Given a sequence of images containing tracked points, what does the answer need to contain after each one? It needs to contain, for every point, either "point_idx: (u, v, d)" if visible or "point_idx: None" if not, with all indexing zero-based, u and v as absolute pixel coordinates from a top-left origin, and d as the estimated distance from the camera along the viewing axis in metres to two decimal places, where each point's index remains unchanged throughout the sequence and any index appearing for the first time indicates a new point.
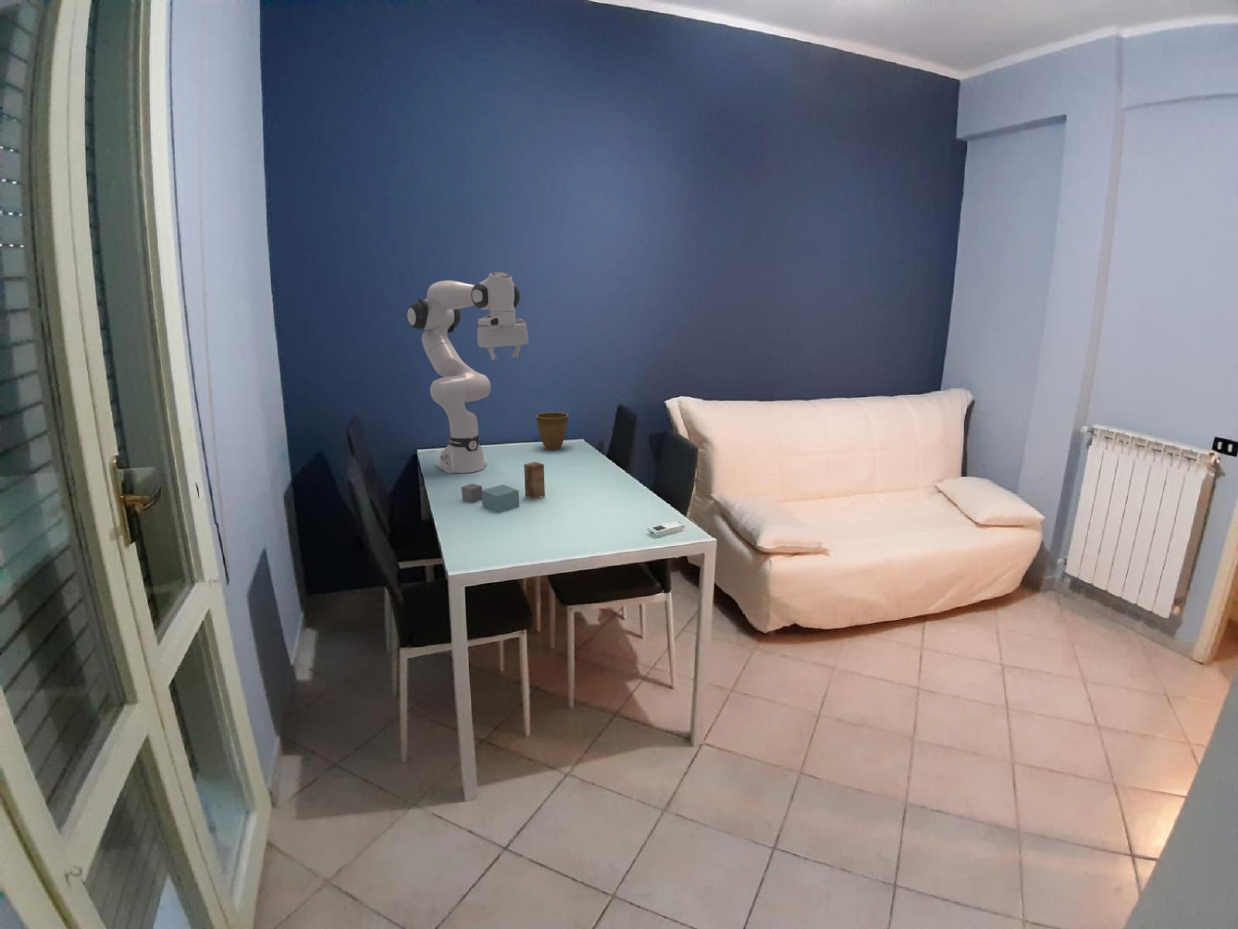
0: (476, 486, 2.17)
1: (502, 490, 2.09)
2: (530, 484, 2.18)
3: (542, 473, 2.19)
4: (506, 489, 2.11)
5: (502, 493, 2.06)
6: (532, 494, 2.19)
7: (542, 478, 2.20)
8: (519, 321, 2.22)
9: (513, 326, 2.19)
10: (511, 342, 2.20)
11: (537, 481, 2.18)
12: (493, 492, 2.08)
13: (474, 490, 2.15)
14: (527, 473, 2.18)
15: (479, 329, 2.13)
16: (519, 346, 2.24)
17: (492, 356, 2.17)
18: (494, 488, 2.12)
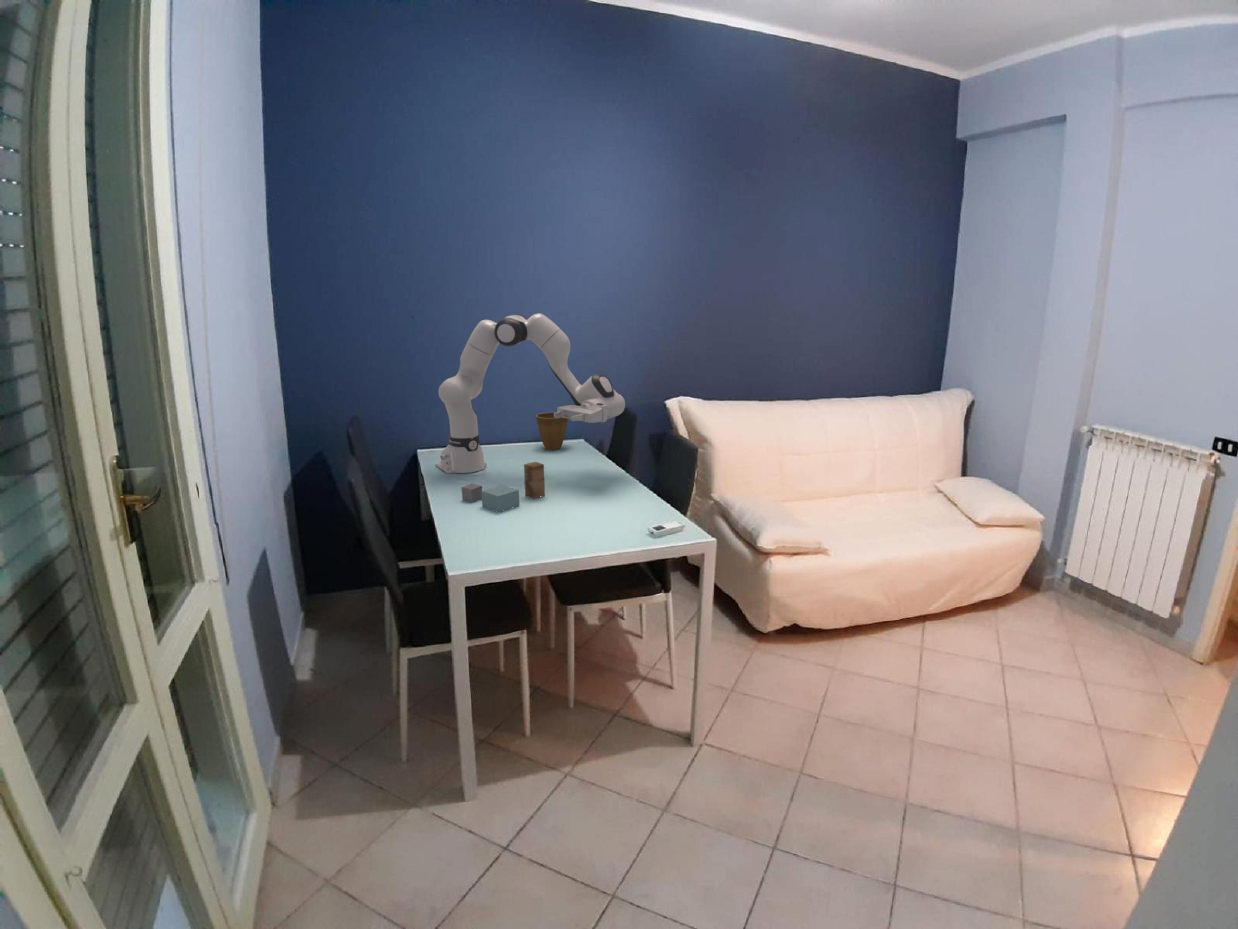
0: (476, 486, 2.17)
1: (502, 490, 2.09)
2: (530, 484, 2.18)
3: (542, 473, 2.19)
4: (505, 489, 2.11)
5: (503, 493, 2.06)
6: (532, 494, 2.19)
7: (542, 478, 2.20)
8: None
9: None
10: None
11: (537, 481, 2.18)
12: (494, 492, 2.08)
13: (474, 490, 2.15)
14: (527, 473, 2.18)
15: (601, 412, 2.25)
16: None
17: (575, 419, 2.22)
18: (493, 488, 2.12)
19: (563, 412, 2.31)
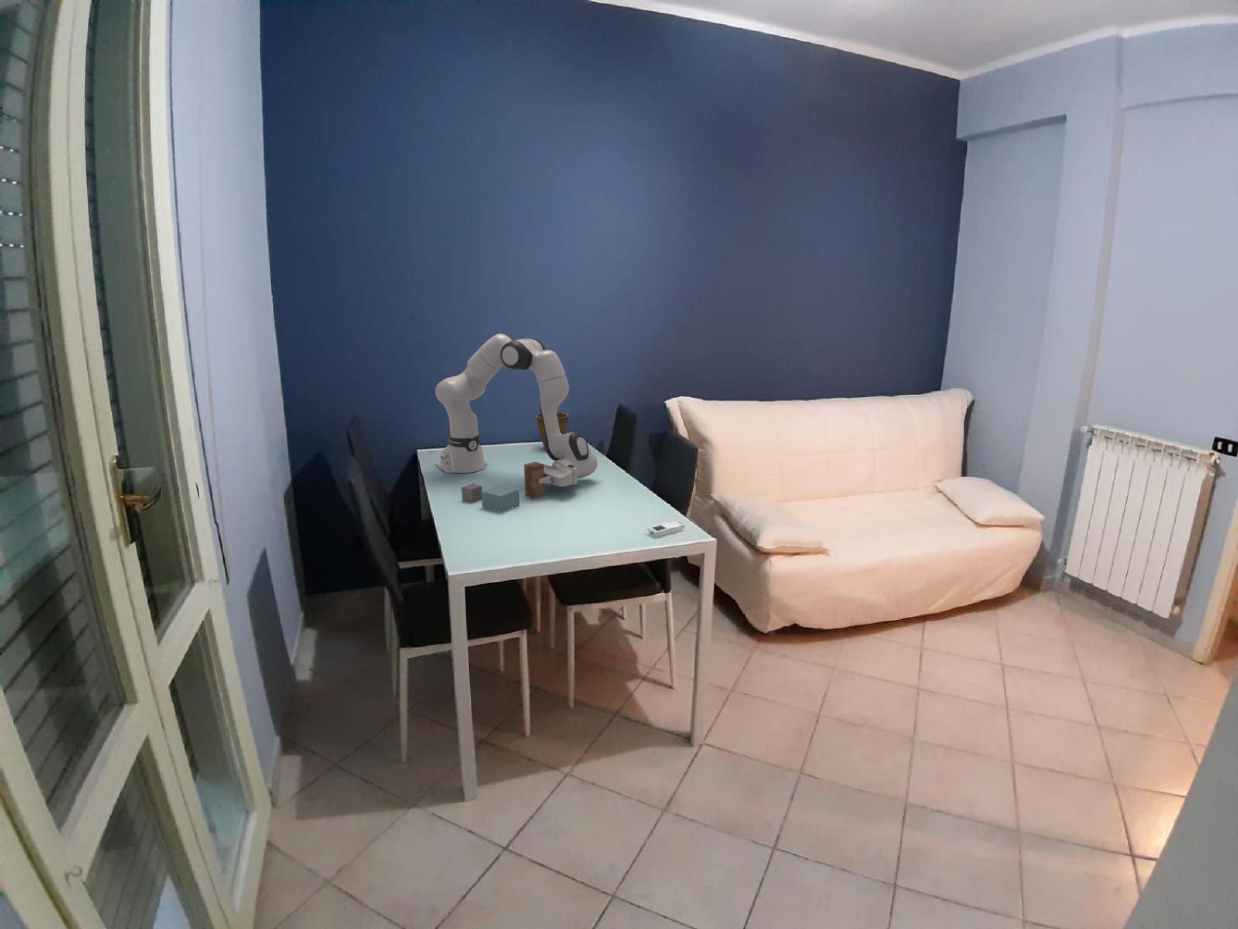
0: (476, 486, 2.17)
1: (502, 490, 2.10)
2: (530, 484, 2.18)
3: (542, 473, 2.19)
4: (505, 489, 2.11)
5: (505, 493, 2.07)
6: (532, 494, 2.19)
7: None
8: None
9: None
10: None
11: None
12: (494, 492, 2.08)
13: (474, 490, 2.15)
14: (527, 473, 2.18)
15: (572, 475, 2.20)
16: None
17: (542, 481, 2.18)
18: (493, 489, 2.11)
19: None
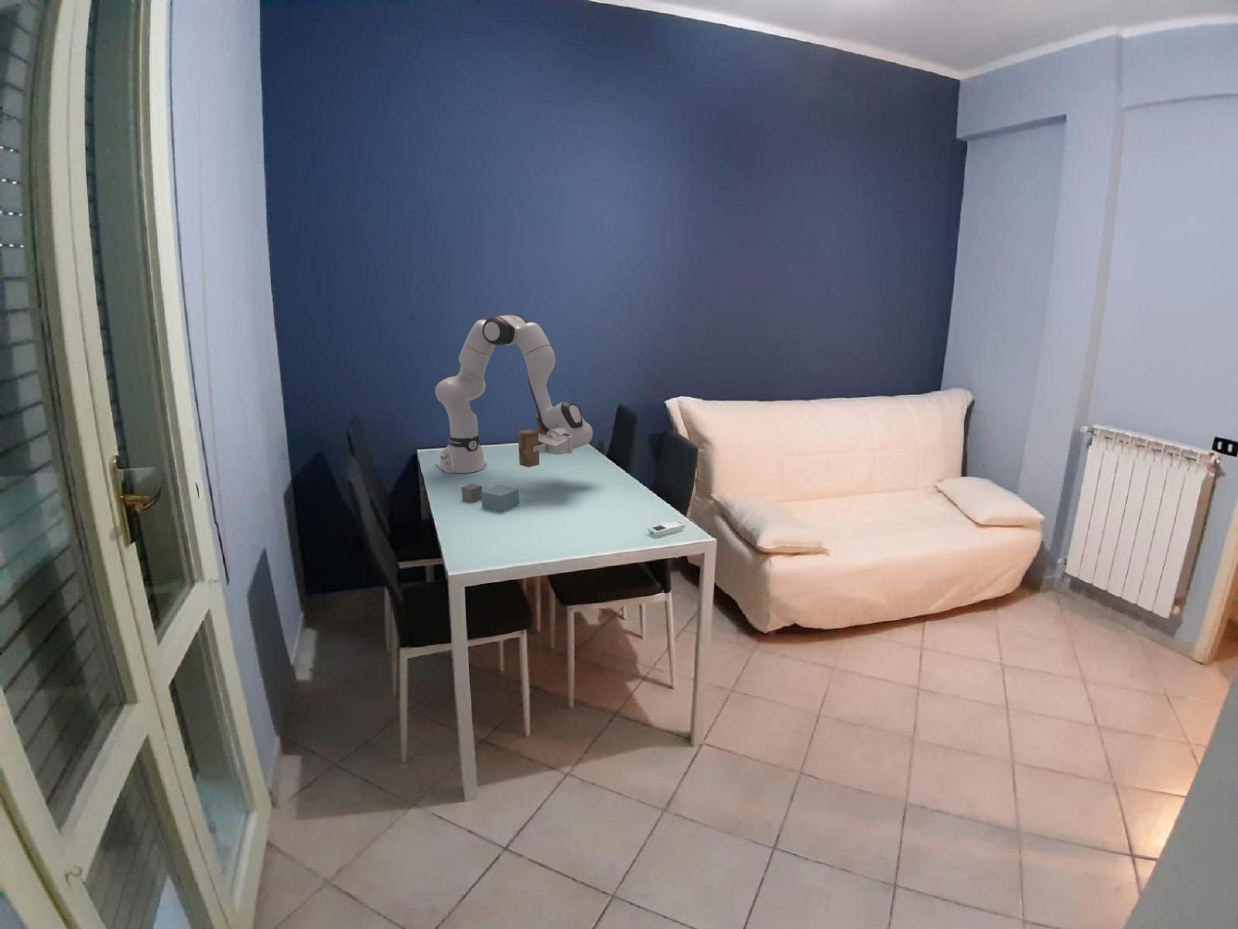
0: (476, 486, 2.17)
1: (502, 490, 2.10)
2: (524, 452, 2.14)
3: (536, 441, 2.14)
4: (505, 488, 2.11)
5: (505, 493, 2.07)
6: (526, 462, 2.14)
7: None
8: None
9: None
10: None
11: None
12: (495, 492, 2.08)
13: (474, 490, 2.15)
14: (521, 440, 2.13)
15: (567, 443, 2.16)
16: None
17: (536, 449, 2.13)
18: (492, 489, 2.11)
19: None
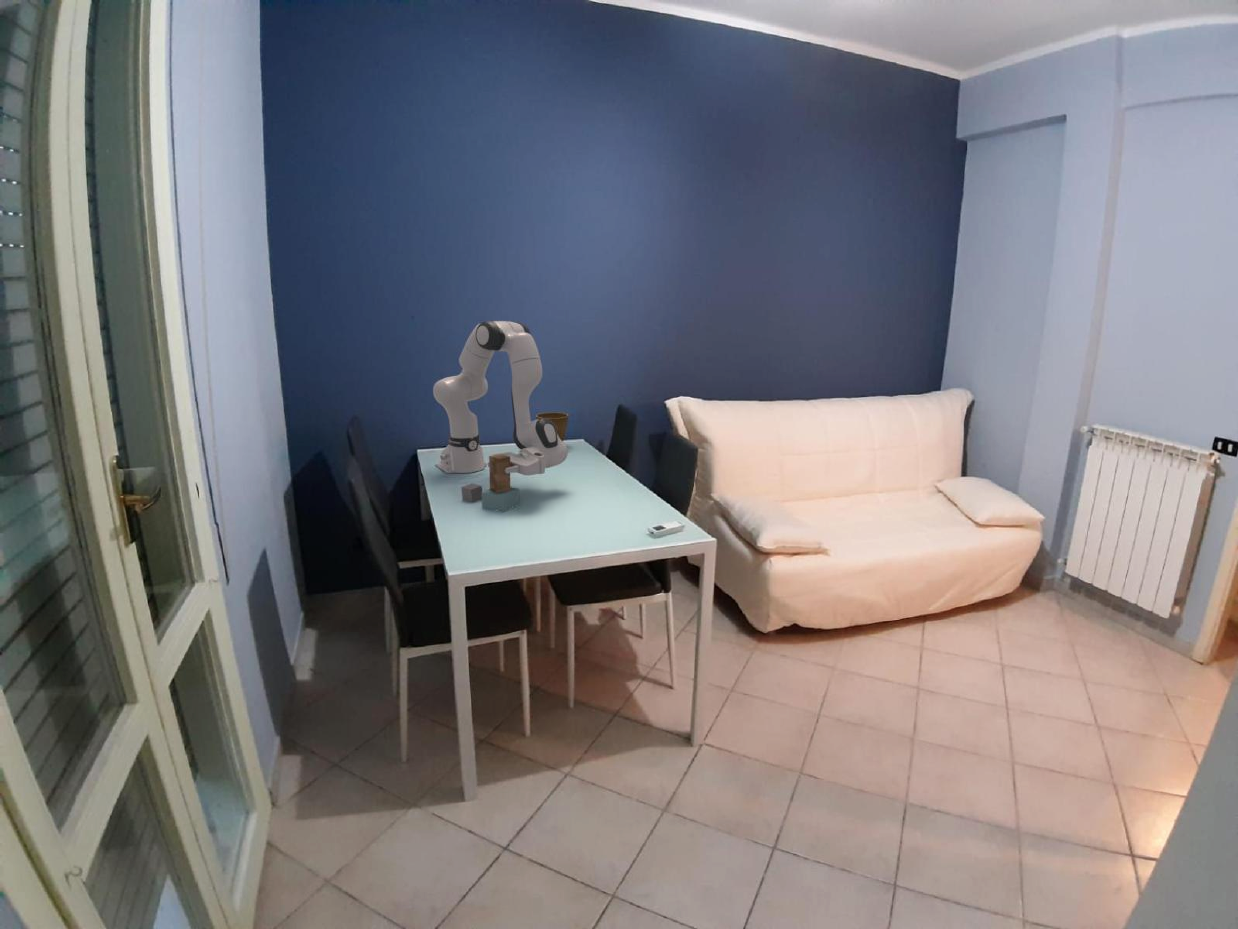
0: (476, 486, 2.17)
1: None
2: (495, 477, 2.06)
3: (508, 466, 2.07)
4: None
5: (506, 493, 2.07)
6: (496, 488, 2.07)
7: None
8: None
9: None
10: None
11: (502, 474, 2.06)
12: (495, 492, 2.08)
13: (474, 490, 2.15)
14: (492, 465, 2.06)
15: (538, 463, 2.08)
16: None
17: (509, 471, 2.04)
18: None
19: None
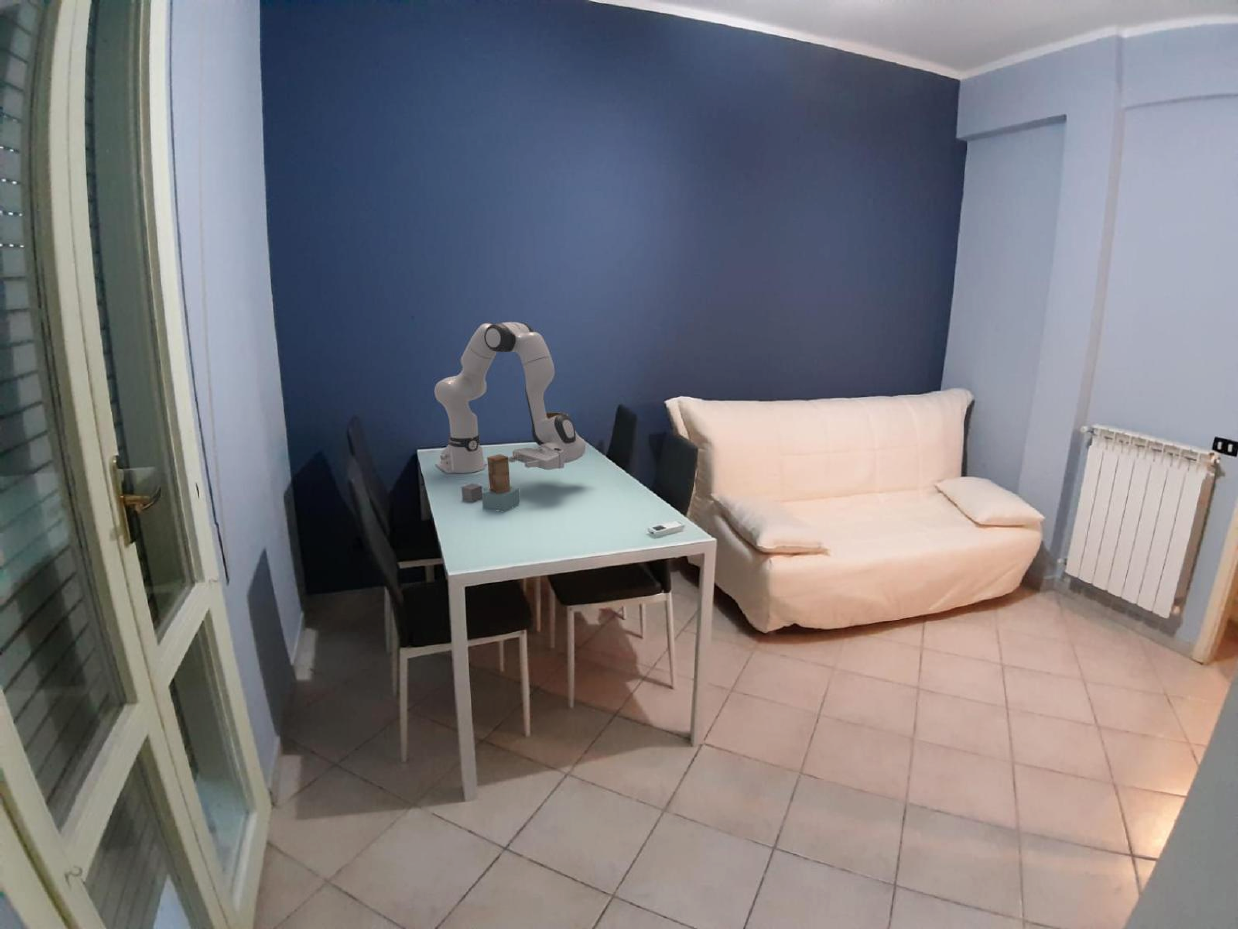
0: (476, 486, 2.17)
1: None
2: (494, 478, 2.06)
3: (507, 466, 2.07)
4: None
5: (507, 493, 2.07)
6: (496, 488, 2.06)
7: (507, 471, 2.07)
8: None
9: None
10: None
11: (501, 475, 2.06)
12: None
13: (474, 490, 2.15)
14: (490, 466, 2.06)
15: (558, 458, 2.14)
16: None
17: (530, 465, 2.10)
18: None
19: (519, 456, 2.20)
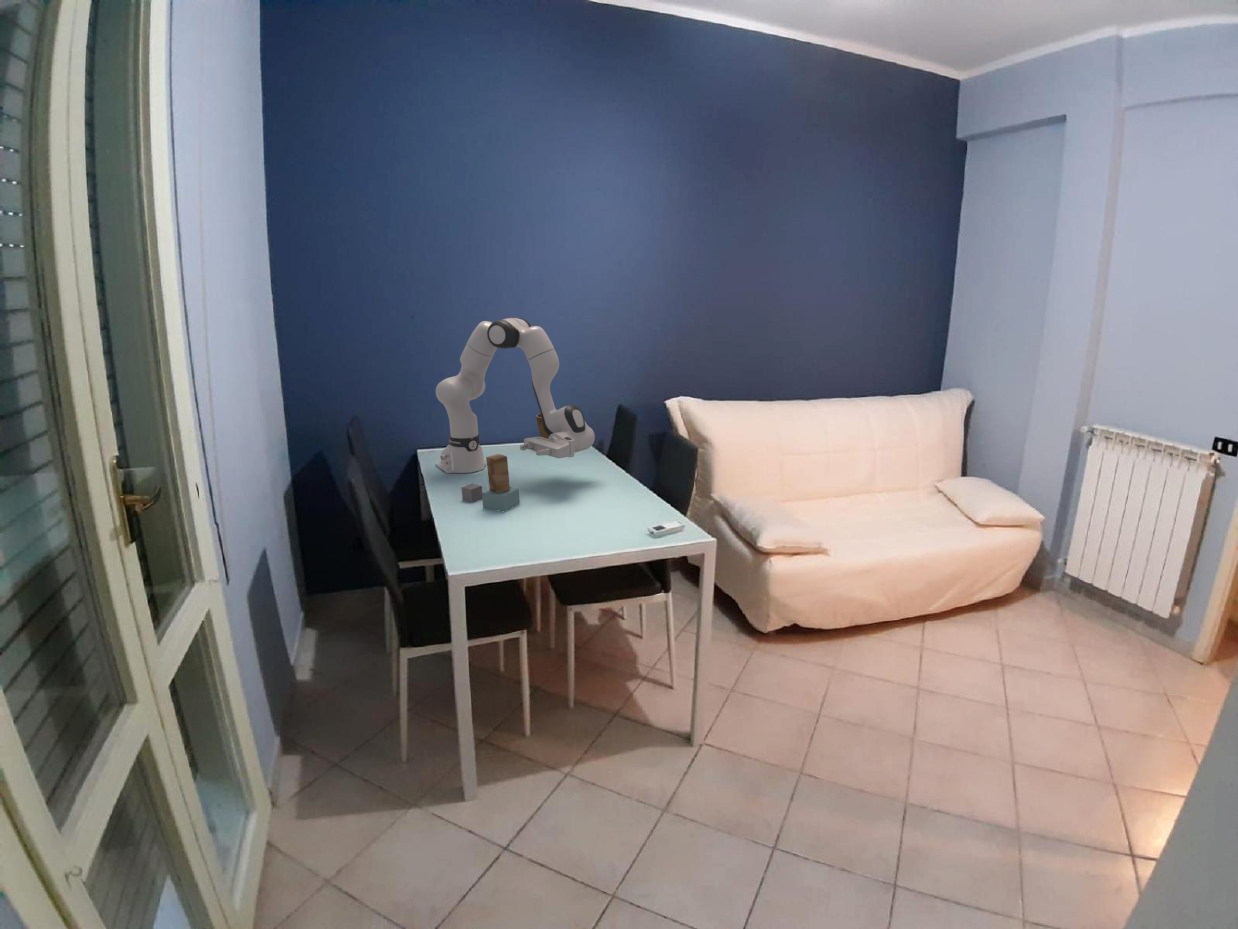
0: (476, 486, 2.17)
1: None
2: (493, 478, 2.06)
3: (506, 466, 2.07)
4: None
5: (507, 493, 2.07)
6: (496, 488, 2.06)
7: (506, 471, 2.07)
8: None
9: None
10: None
11: (500, 474, 2.06)
12: None
13: (474, 490, 2.15)
14: (489, 466, 2.06)
15: (568, 447, 2.19)
16: None
17: (541, 453, 2.16)
18: None
19: (530, 444, 2.25)
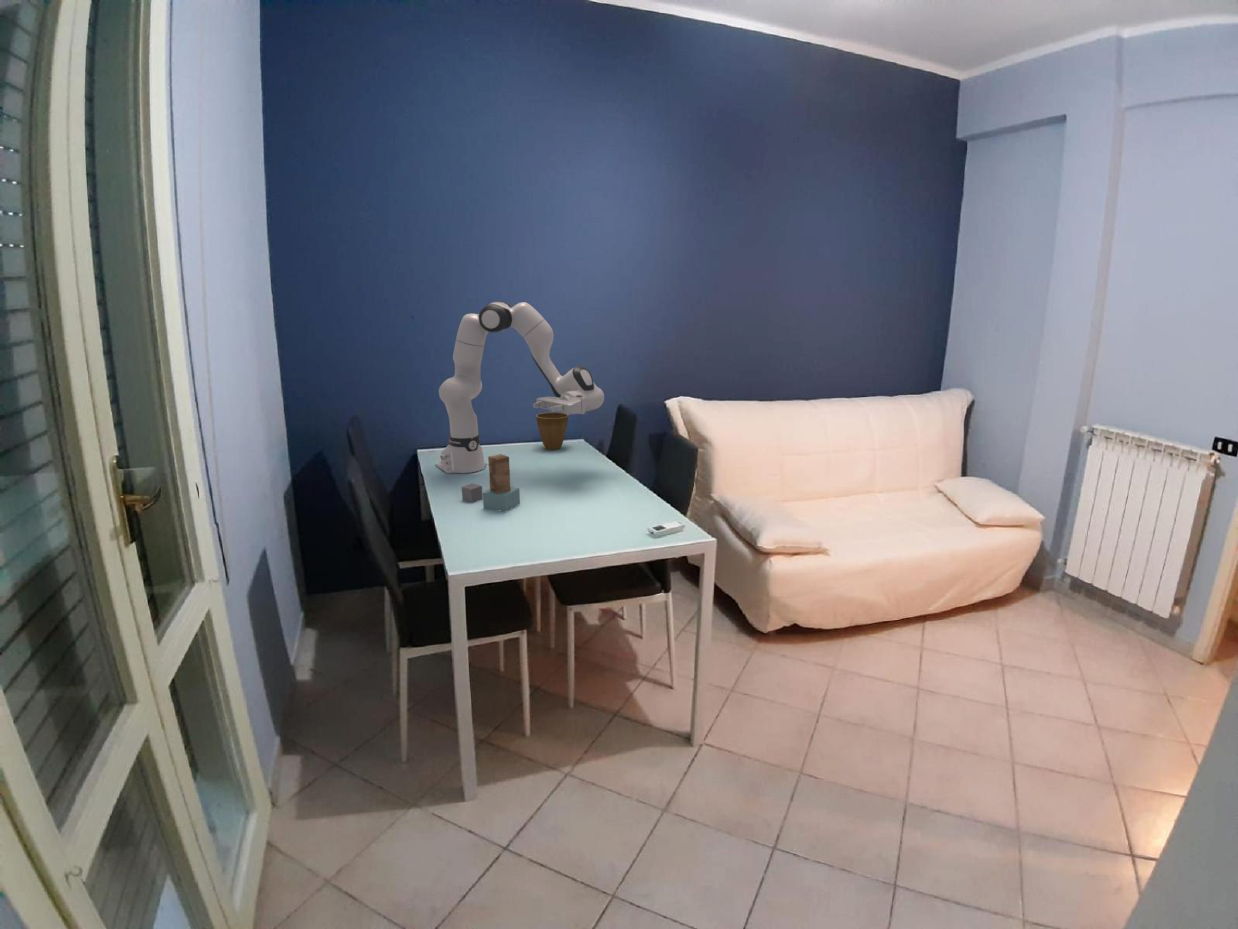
0: (476, 486, 2.17)
1: None
2: (494, 477, 2.06)
3: (507, 466, 2.07)
4: None
5: (508, 493, 2.07)
6: (496, 488, 2.07)
7: (507, 471, 2.07)
8: None
9: None
10: None
11: (501, 475, 2.06)
12: None
13: (474, 490, 2.15)
14: (491, 465, 2.06)
15: (580, 404, 2.28)
16: None
17: (554, 409, 2.24)
18: None
19: (542, 403, 2.33)
